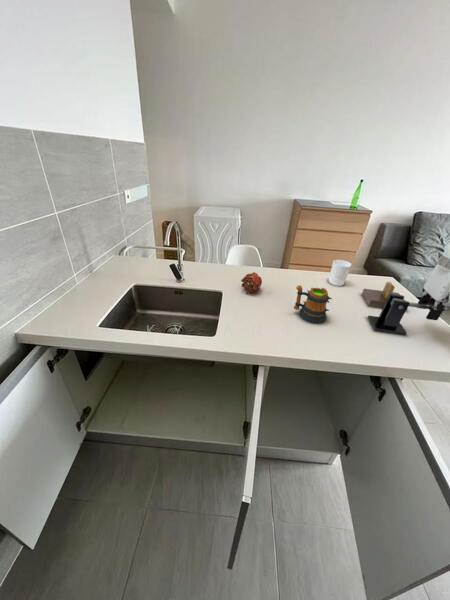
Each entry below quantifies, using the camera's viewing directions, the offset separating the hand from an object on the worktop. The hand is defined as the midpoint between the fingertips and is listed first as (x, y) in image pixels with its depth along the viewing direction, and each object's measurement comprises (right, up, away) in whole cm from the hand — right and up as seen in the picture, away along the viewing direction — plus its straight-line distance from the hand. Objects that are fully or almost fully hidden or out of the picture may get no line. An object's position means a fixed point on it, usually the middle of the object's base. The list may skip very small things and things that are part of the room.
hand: (426, 313), depth 82 cm
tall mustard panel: (-2, +6, +18) cm, 19 cm away
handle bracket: (-10, -5, +5) cm, 13 cm away
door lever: (-5, +2, 0) cm, 6 cm away
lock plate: (-2, +3, +20) cm, 20 cm away
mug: (-37, -1, +9) cm, 38 cm away
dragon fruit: (-57, +9, +24) cm, 62 cm away
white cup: (-15, +13, +34) cm, 39 cm away
